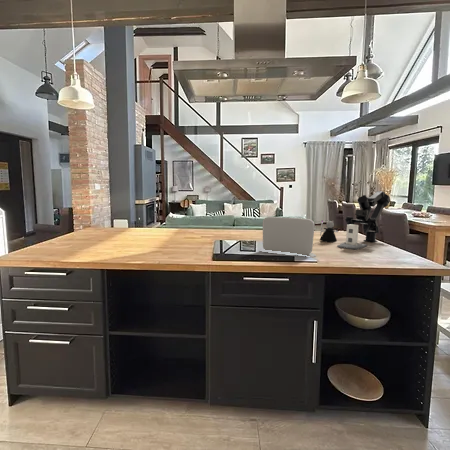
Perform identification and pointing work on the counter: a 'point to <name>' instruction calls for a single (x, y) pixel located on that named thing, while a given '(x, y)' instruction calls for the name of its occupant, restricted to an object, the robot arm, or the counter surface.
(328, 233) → the toy
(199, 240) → the counter surface
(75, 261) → the counter surface
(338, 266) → the counter surface
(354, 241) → the cream rectangular prism
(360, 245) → the bracket plate
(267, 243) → the wireless router
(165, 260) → the counter surface
